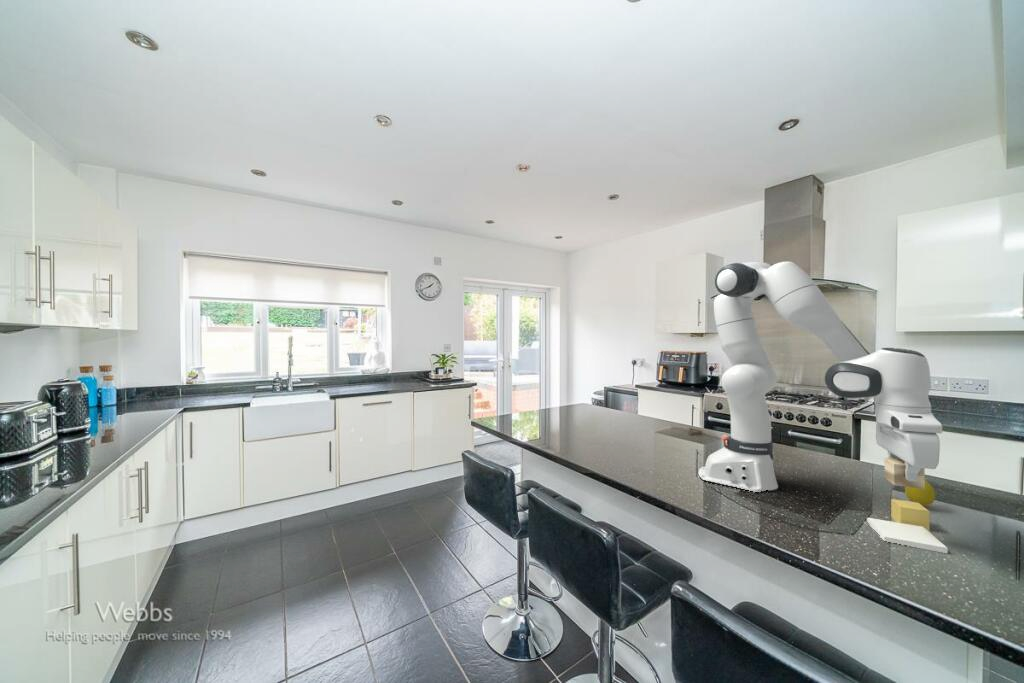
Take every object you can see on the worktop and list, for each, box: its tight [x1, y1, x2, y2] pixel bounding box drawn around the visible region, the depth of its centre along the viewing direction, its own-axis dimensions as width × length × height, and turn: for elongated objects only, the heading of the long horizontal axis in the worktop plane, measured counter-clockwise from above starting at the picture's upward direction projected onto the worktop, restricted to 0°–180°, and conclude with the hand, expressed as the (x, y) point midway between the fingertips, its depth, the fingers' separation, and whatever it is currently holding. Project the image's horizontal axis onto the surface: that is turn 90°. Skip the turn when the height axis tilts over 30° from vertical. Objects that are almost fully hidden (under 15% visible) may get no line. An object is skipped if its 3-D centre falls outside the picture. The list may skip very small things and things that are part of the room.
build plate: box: [866, 517, 949, 554], centre depth 85 cm, size 10×10×1 cm
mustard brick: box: [890, 498, 931, 532], centre depth 90 cm, size 5×5×5 cm
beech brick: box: [883, 457, 926, 489], centre depth 84 cm, size 5×5×5 cm
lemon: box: [904, 480, 936, 507], centre depth 99 cm, size 6×6×8 cm
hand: (903, 475), depth 84 cm, fingers closed on beech brick, 5 cm apart
